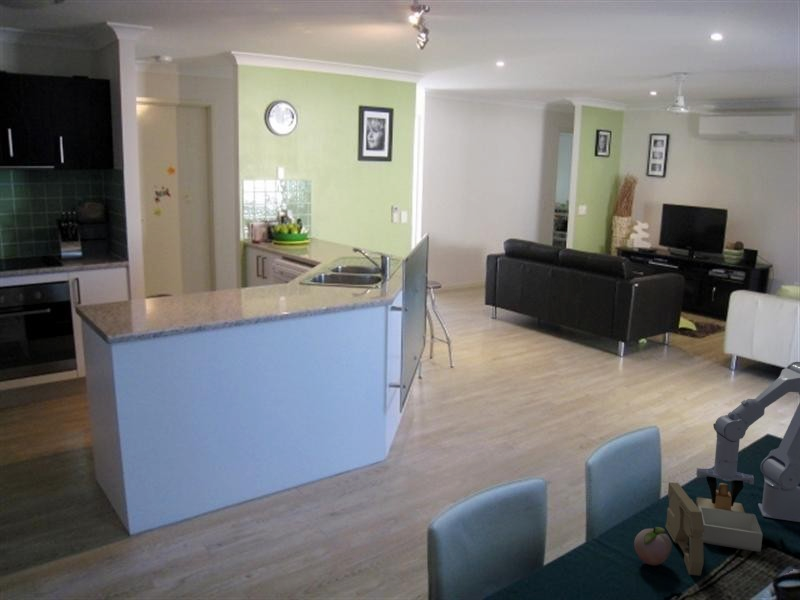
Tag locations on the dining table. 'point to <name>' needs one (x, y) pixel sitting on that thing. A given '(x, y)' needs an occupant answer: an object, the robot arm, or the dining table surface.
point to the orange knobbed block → (723, 498)
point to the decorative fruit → (653, 545)
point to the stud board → (708, 503)
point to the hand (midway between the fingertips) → (722, 503)
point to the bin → (731, 529)
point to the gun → (686, 527)
